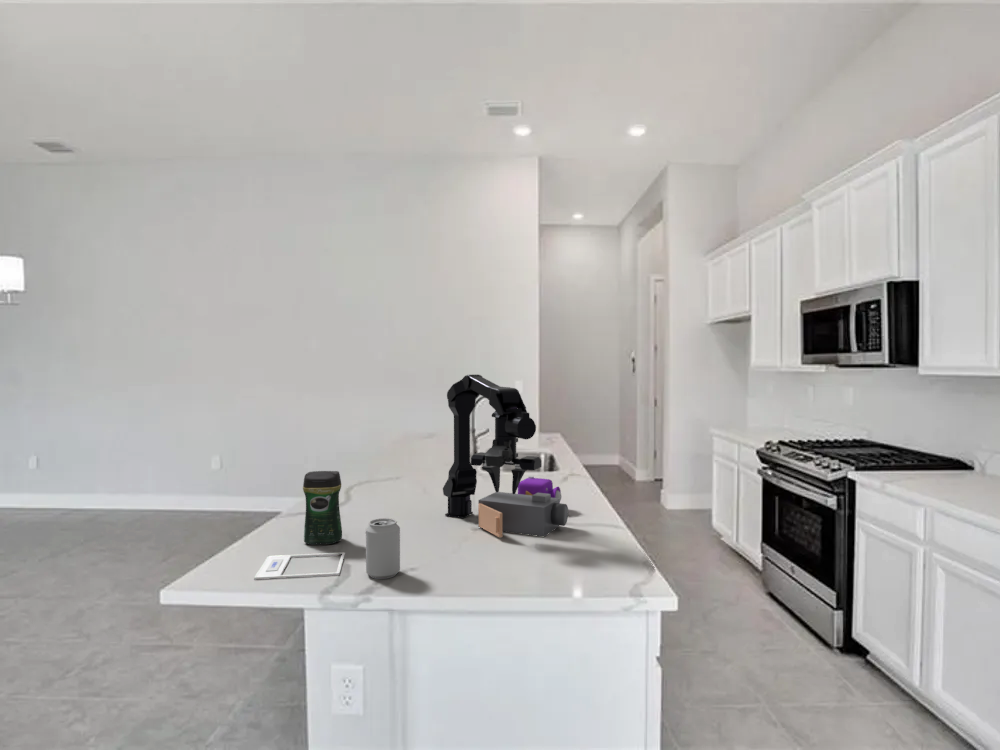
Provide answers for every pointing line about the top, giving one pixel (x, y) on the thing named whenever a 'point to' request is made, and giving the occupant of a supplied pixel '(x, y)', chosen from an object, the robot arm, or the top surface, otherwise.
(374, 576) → the can
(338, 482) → the coffee jar
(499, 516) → the side door
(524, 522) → the block
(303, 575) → the photo frame
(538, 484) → the toy camera
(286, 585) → the top surface
